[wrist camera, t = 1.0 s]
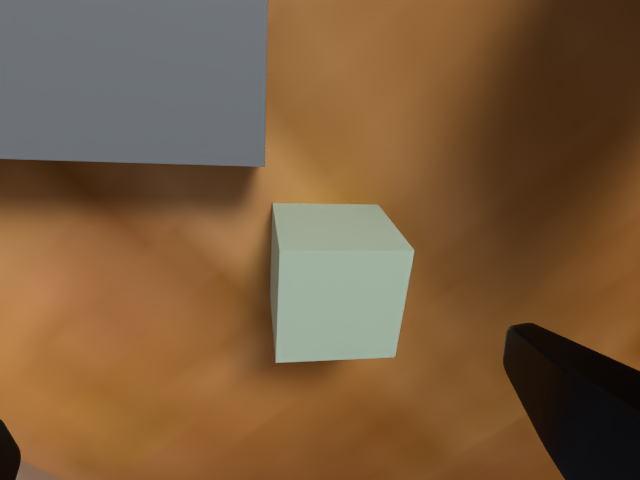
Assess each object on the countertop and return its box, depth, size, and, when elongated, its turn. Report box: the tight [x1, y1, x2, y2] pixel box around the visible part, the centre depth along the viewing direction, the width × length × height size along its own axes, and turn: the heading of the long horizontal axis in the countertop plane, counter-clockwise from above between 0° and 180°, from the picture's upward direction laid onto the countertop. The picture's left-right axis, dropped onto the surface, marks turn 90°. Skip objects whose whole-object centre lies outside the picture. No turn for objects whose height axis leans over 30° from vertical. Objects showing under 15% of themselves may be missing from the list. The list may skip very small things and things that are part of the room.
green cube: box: [270, 203, 415, 363], centre depth 19 cm, size 5×5×5 cm
